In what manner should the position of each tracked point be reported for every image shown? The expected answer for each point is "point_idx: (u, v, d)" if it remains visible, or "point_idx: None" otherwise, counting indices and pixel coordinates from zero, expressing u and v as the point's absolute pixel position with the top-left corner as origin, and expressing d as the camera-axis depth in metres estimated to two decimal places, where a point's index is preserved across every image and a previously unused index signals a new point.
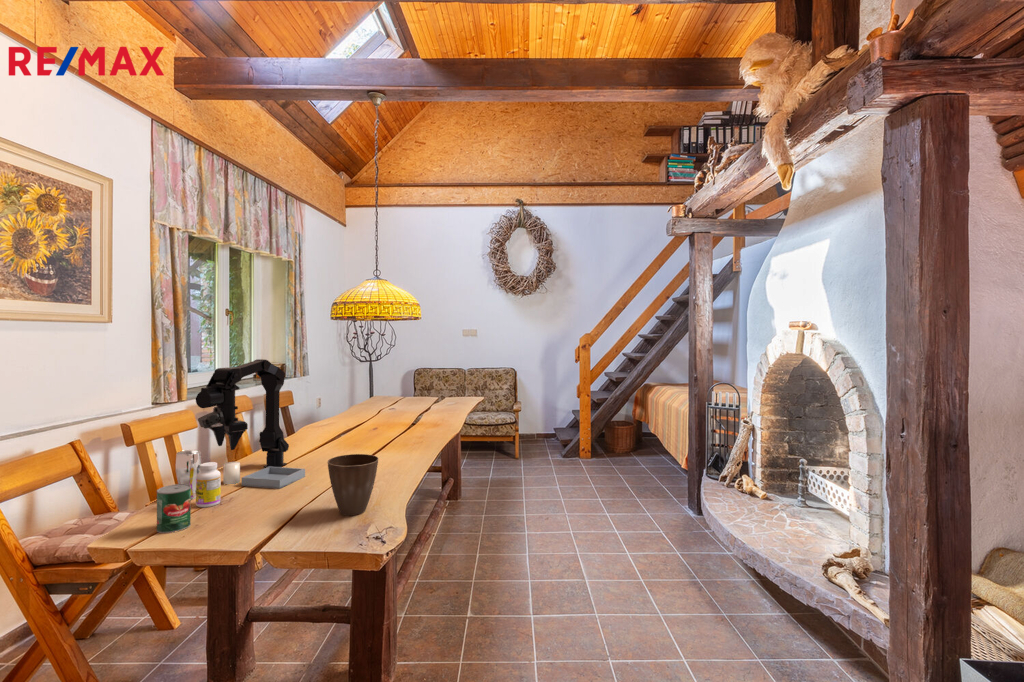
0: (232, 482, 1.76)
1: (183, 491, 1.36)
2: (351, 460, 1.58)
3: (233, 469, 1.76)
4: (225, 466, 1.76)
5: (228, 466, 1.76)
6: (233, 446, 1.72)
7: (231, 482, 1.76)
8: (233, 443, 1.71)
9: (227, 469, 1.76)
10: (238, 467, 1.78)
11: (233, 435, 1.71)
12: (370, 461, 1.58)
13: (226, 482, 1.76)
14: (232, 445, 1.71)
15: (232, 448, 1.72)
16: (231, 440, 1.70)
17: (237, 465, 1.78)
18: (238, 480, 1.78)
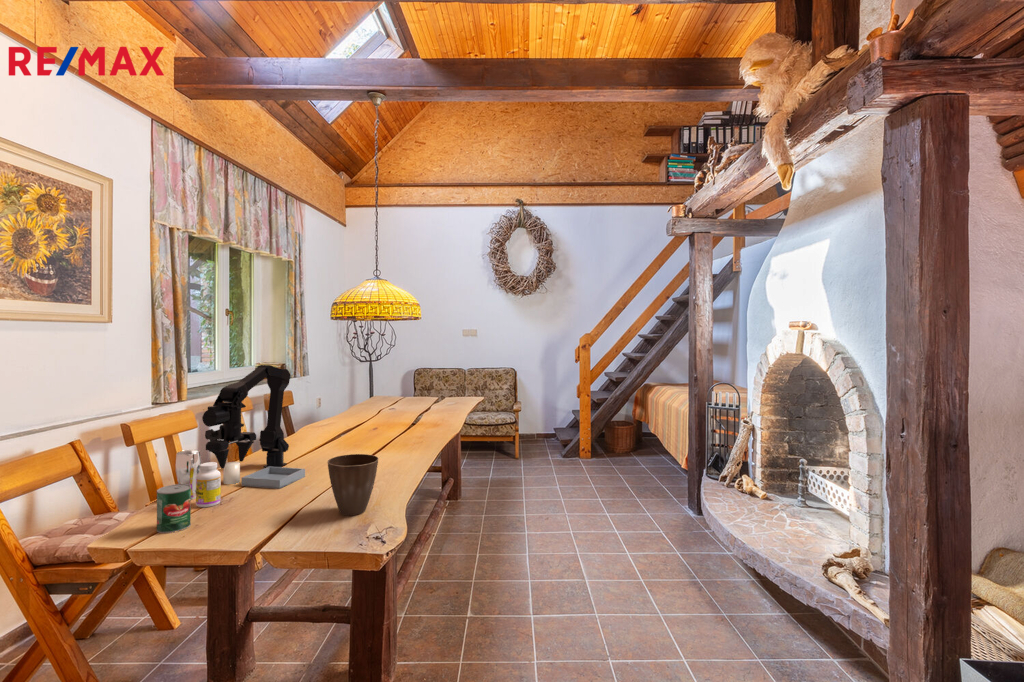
0: (232, 482, 1.76)
1: (183, 491, 1.36)
2: (351, 460, 1.58)
3: (233, 469, 1.76)
4: (225, 466, 1.76)
5: (228, 466, 1.76)
6: (222, 465, 1.73)
7: (231, 482, 1.76)
8: (220, 462, 1.73)
9: (227, 469, 1.76)
10: (238, 467, 1.78)
11: (219, 454, 1.73)
12: (370, 461, 1.58)
13: (226, 482, 1.76)
14: (220, 463, 1.73)
15: (221, 466, 1.74)
16: (217, 458, 1.73)
17: (237, 465, 1.78)
18: (238, 480, 1.78)
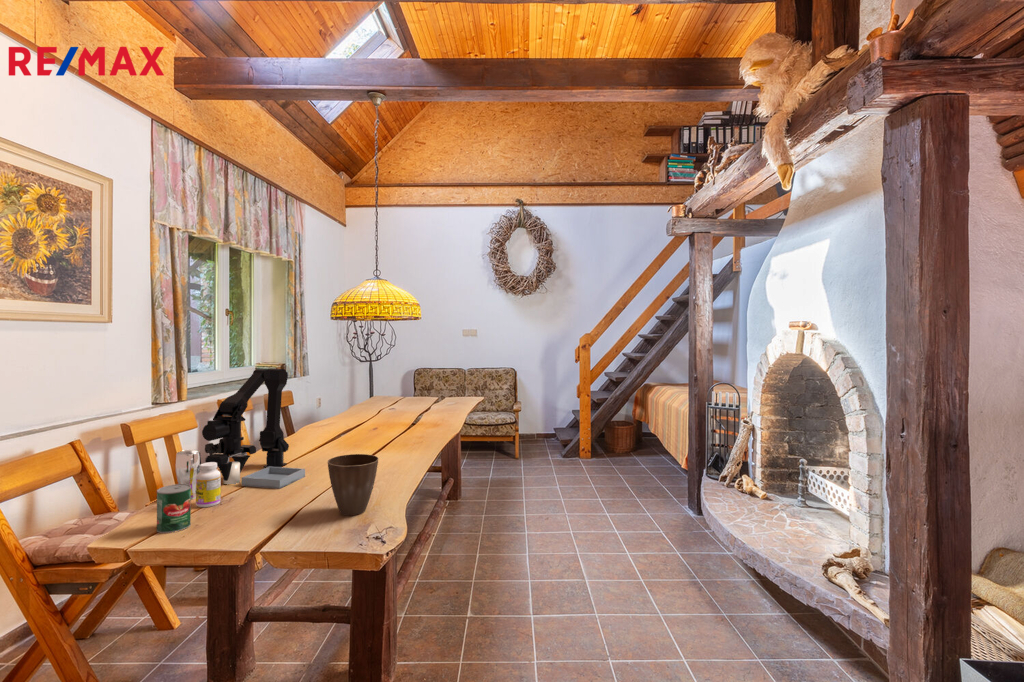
0: (232, 482, 1.76)
1: (183, 491, 1.36)
2: (351, 460, 1.58)
3: (233, 469, 1.76)
4: None
5: None
6: (225, 477, 1.75)
7: (231, 482, 1.76)
8: (224, 474, 1.75)
9: None
10: (238, 467, 1.78)
11: (222, 466, 1.75)
12: (370, 461, 1.58)
13: (226, 482, 1.76)
14: (223, 476, 1.75)
15: (224, 479, 1.75)
16: (221, 471, 1.75)
17: (237, 465, 1.78)
18: (238, 480, 1.78)
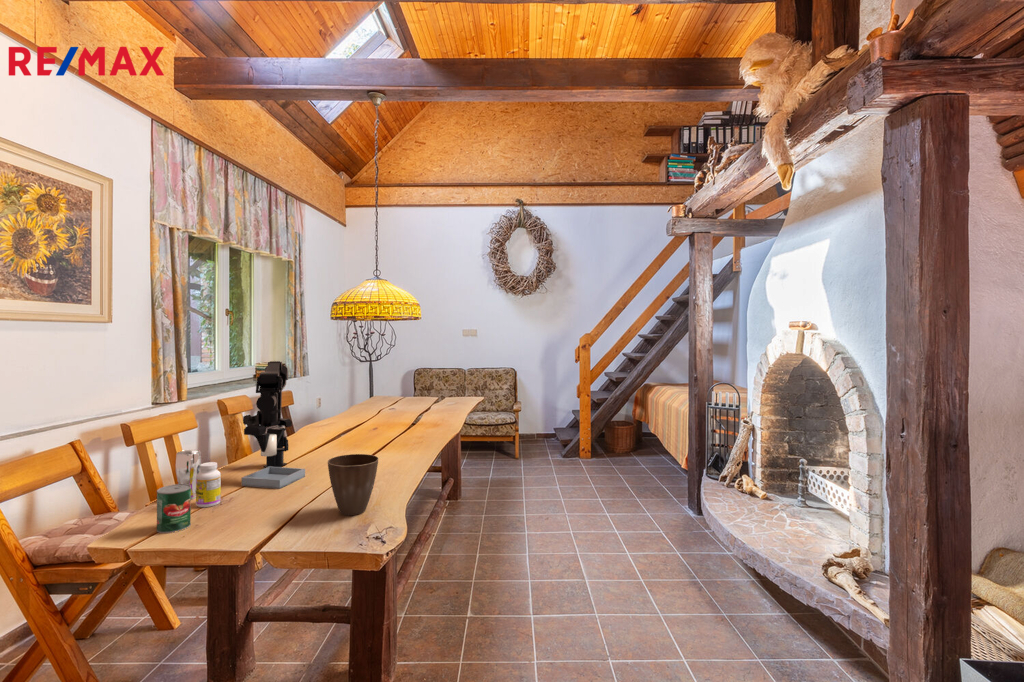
0: (269, 453, 1.78)
1: (183, 491, 1.36)
2: (351, 460, 1.58)
3: (270, 441, 1.78)
4: None
5: None
6: (263, 449, 1.77)
7: (268, 453, 1.78)
8: (261, 446, 1.77)
9: None
10: (275, 439, 1.80)
11: (260, 437, 1.77)
12: (370, 461, 1.58)
13: (263, 453, 1.78)
14: (261, 447, 1.77)
15: (262, 450, 1.77)
16: (258, 442, 1.77)
17: (274, 437, 1.80)
18: (275, 452, 1.80)
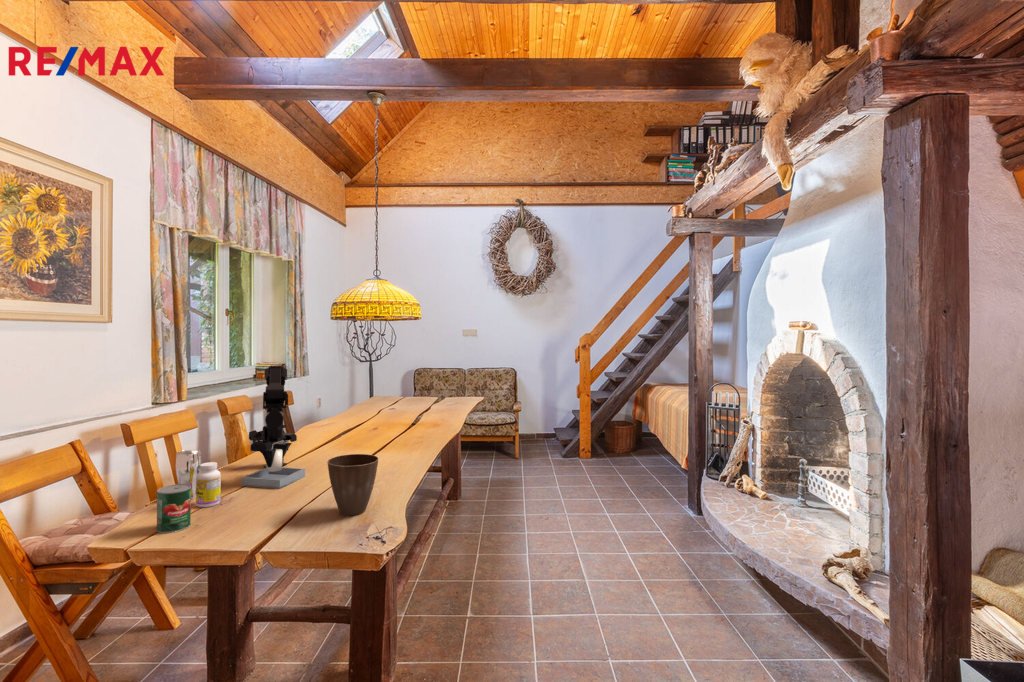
0: (275, 469, 1.79)
1: (183, 491, 1.36)
2: (351, 460, 1.58)
3: (276, 456, 1.79)
4: None
5: None
6: (269, 464, 1.78)
7: (274, 469, 1.79)
8: (267, 461, 1.78)
9: None
10: (281, 454, 1.81)
11: (266, 453, 1.77)
12: (370, 461, 1.58)
13: (269, 469, 1.79)
14: (267, 462, 1.78)
15: (268, 465, 1.78)
16: (265, 457, 1.77)
17: (280, 452, 1.80)
18: (281, 467, 1.81)
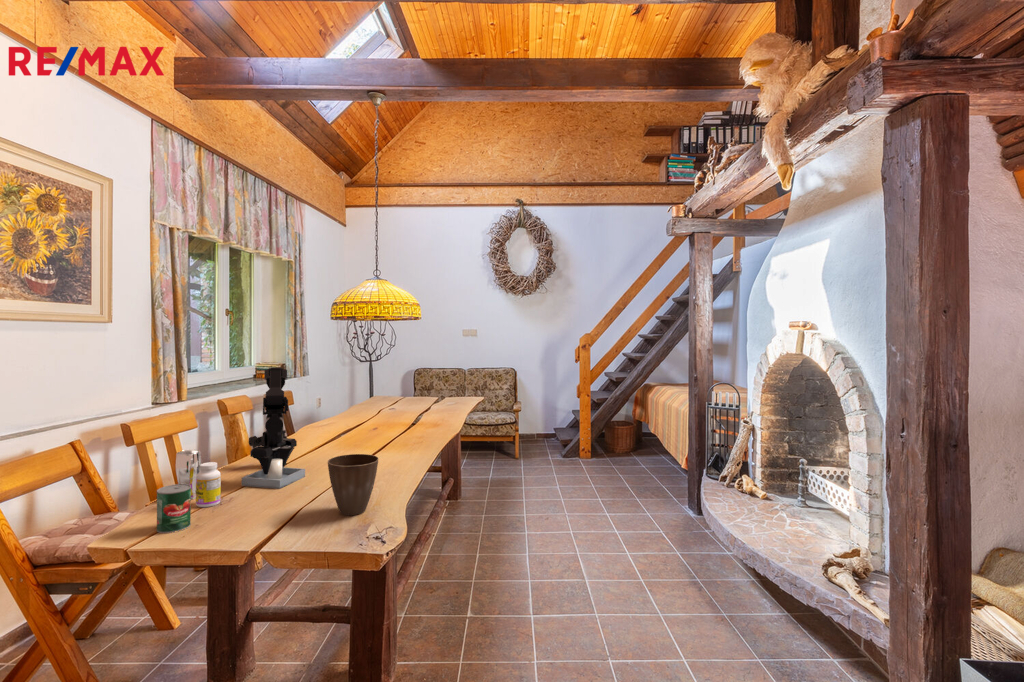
0: None
1: (183, 491, 1.36)
2: (351, 460, 1.58)
3: (276, 466, 1.79)
4: None
5: (272, 463, 1.78)
6: (265, 471, 1.76)
7: None
8: (264, 468, 1.76)
9: (271, 466, 1.79)
10: (281, 464, 1.81)
11: (263, 460, 1.75)
12: (370, 461, 1.58)
13: None
14: (264, 470, 1.76)
15: (264, 472, 1.76)
16: (261, 464, 1.75)
17: (280, 462, 1.80)
18: (281, 477, 1.81)
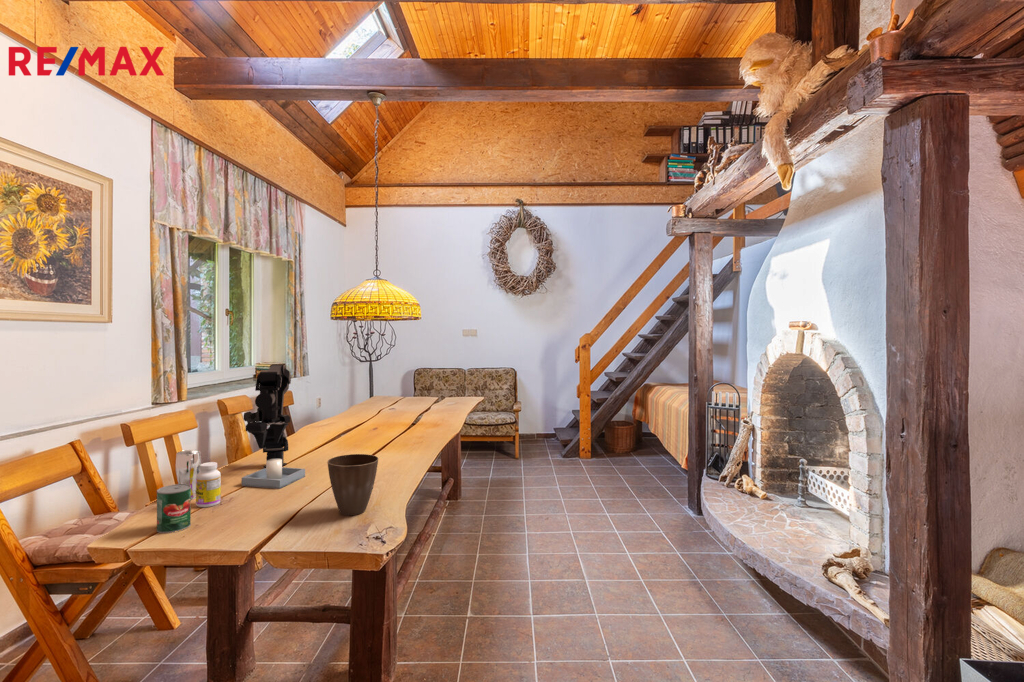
0: (275, 478, 1.79)
1: (183, 491, 1.36)
2: (351, 460, 1.58)
3: (276, 466, 1.79)
4: (268, 463, 1.79)
5: (271, 463, 1.78)
6: (260, 446, 1.82)
7: (274, 478, 1.79)
8: (259, 443, 1.82)
9: (270, 466, 1.78)
10: (280, 464, 1.81)
11: (258, 435, 1.81)
12: (370, 461, 1.58)
13: None
14: (258, 444, 1.82)
15: (259, 447, 1.82)
16: (256, 439, 1.81)
17: (279, 462, 1.80)
18: (281, 476, 1.81)
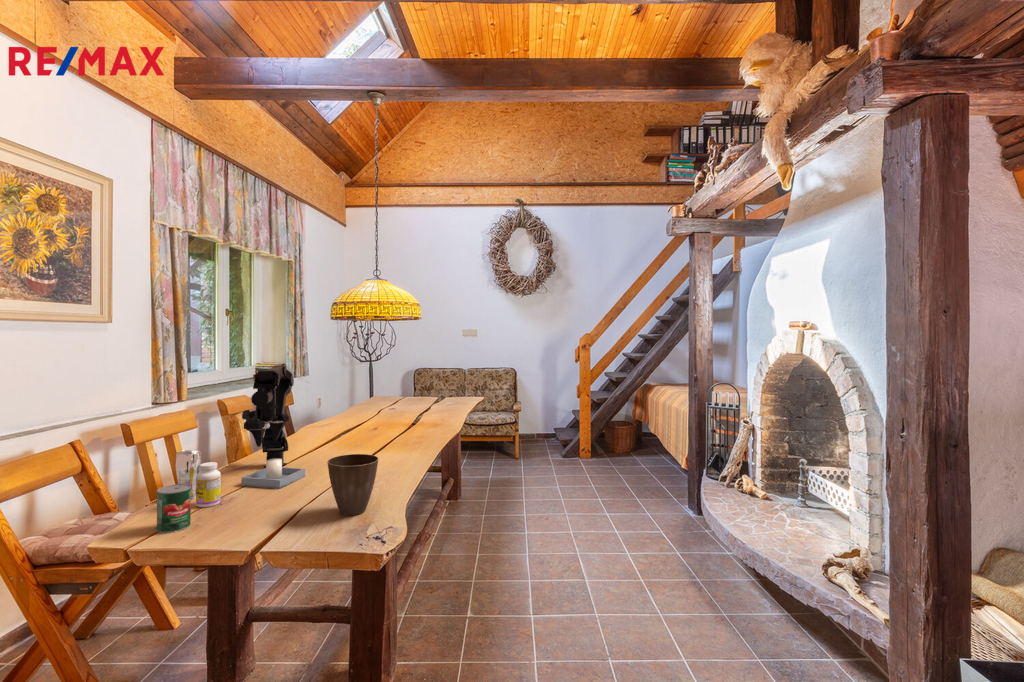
0: (275, 478, 1.79)
1: (183, 491, 1.36)
2: (351, 460, 1.58)
3: (275, 466, 1.79)
4: (268, 463, 1.79)
5: (271, 463, 1.78)
6: (258, 444, 1.83)
7: None
8: (257, 440, 1.83)
9: (270, 466, 1.78)
10: (280, 464, 1.81)
11: (256, 433, 1.82)
12: (370, 461, 1.58)
13: None
14: (256, 442, 1.83)
15: (257, 445, 1.83)
16: (254, 437, 1.82)
17: (279, 462, 1.80)
18: (280, 476, 1.81)
